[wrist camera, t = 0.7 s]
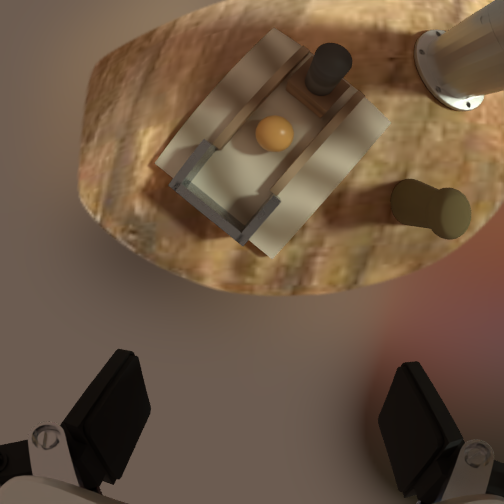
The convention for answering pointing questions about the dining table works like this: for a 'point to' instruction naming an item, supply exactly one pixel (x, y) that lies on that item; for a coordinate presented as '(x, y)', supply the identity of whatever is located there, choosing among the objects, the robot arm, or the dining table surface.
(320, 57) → the player block
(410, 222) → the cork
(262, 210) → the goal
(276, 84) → the lane board
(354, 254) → the dining table surface
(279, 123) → the ball
